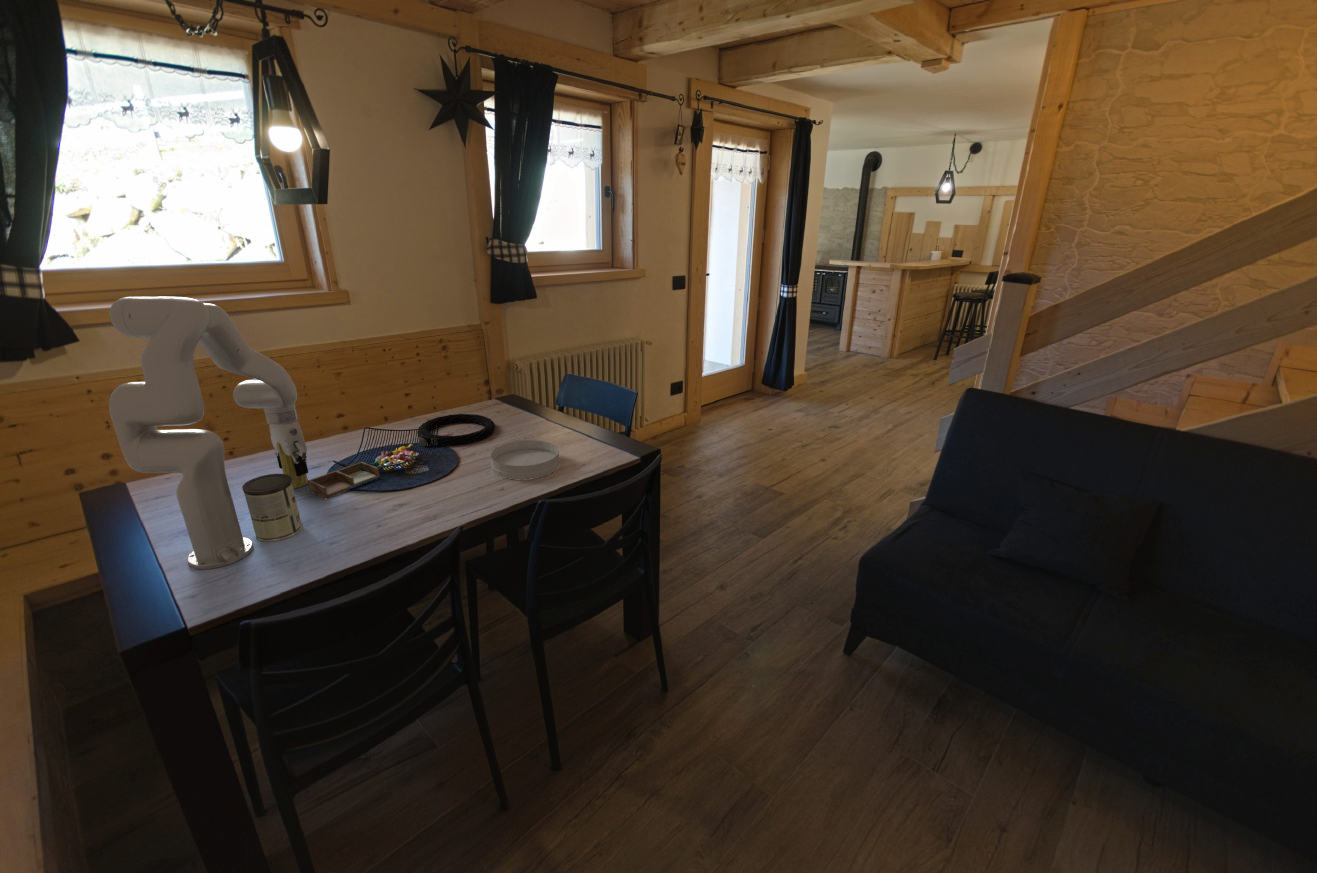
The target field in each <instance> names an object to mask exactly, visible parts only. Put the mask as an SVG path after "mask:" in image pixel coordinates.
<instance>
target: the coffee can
mask: <svg viewBox="0 0 1317 873" xmlns="http://www.w3.org/2000/svg"><path fill="white" fill-rule="evenodd" d="M242 491H243V494H244V497H245V501H246V505H247V508H248V513H249V515H250V519H251V523H252V527H253V530H254V533H255V538H256V539H257V540H258V541H259V542H263V543H271V542H273V543H275V542H279V541H283V540H286V539H289V538H291V537H293V536H295V535H297V534H298V533H300V532H301V530H302V529H303V524H302V520H301V516H300V511H299V507H298V503H297V499H296V495H295V490H294V488H293V485H292V478H291V476H289V475H287V474H283V473H271V474H265V475H264V474H263V475H261V476H257V477H254V478H252V479H250V480H248V481H246V482H245V483H244V484H243V485H242Z"/></svg>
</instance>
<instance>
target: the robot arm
mask: <svg viewBox="0 0 1317 873" xmlns="http://www.w3.org/2000/svg"><path fill="white" fill-rule="evenodd" d="M109 318H110V319H109V320H110V322H111V324H112V326H113V327H114V329H115V330H116V331H118V332H119V333H120V334H122V335H123V336H127V337H128V338H135V339H147V340H149V341H148V343H146V346H145V347H144V349H143V351H142V353H141V358H140V365H141V369H142V373H143V377H144V378H143V379H144V381H131V382H125V383H121V384H120V385H118V386H117V387H115V389H114V390H113V391H112V393H111V395H110V397H109V402H108V410H109V415H110V418H111V422H112V425H113V429H114V431H115V435H116V438H117V440H118V443H119V447H120V450H121V452H122V455H123V458H124V460H125V462H126V463H127V465H128V466H129V467H130V468H131V470H133V471H135V472H138V473H143V474H168V473H172V474H181V475H182V478H181V480H180V481H179V483H178V485H177V487H176V491H175V492H176V499H177V502H178V505H179V508H180V511H181V514H182V517H183V521H184V523H185V527H186V530H187V534H188V536H189V539H190V543H191V546H192V550H193V551H192V552H190V553H189V555H188V556H187V563H188V565H189V566H190V567H191V568H193V569H199V570H209V569H210V570H211V569H215V568H222V567H224V566H229V565H231V564H234V563H235V562H236V563H237V562H238V561H240V560H242V559H244V558H245V557H247V556H248V555H249V554H251V552H252V551H253V550H254V543H253V541H252V540H251V539H249V538H248V537H243V532H242V529H241V525H240V522H239V519H238V514H237V512H236V508H235V504H234V501H233V500H234V499H233V497H232V492H231V490H230V486H229V482H228V478H227V473H226V472H227V471H226V467H225V466H226V465H225V446H224V443H223V440H222V439H221V437H220V436H219V435H218V434H217V433H215V432H213V431H211V430H207V429H198V428H186V429H185V428H178V429H175V428H174V429H158V428H157V427H165V426H166V427H169V426H170V427H171V426H188V425H193V424H196V423H198V422H200V421H201V420H202V419H203V417H204V416H205V403H204V399H203V396H202V395H203V394H202V391H201V387H200V384H199V381H198V380H199V379H198V376H197V372H196V367H195V364H194V354H195V350H196V348H197V346H198V344H199V346H201V348H202V349H203V351H204V352H205V353H206V354H207V356H208V357H209V359H211V361H212V363H213V364H214V365H215V366H216V367H217V368H219V369H221V370H224V371H227V372H229V373H232V374H235V375H239V376H244V377H248V378H251V379H246V380H243V381H241V382H239V383H238V384H237V385H236V386H235V387H234V389H233V391H232V396H233V400H234V402H235V404H237V405H238V406H239V407H241V408H244V409H245V408H246V409H263V411H264V414H265V419H266V423H267V425H268V427H269V434H270V441H271V444H272V446H273V449H274V451H275V456H276V459H277V463H278V464H277V465H278V467H279V469H281V470H283V469H282V465H281V460H280V456H279V452H278V448H277V442H278V443H280V444H281V448H282V450H283V451H284V453H285V454H286V455H288V456H291V457H292V458H293V460H294V462H295V464H294V467H295V472H296V476H301V475H304V474H306V475H307V474H308V473H309V469H308V463H307V452H308V449H307V446H306V442H305V437H304V433H303V430H302V428H301V425H300V423H299V420H298V419H299V418H298V413H297V409H296V405H295V403H296V401H297V399H298V390H297V387H296V384H295V383H294V381H293V379H292V378H291V376H290V375H289V373H288V371H287V370H286V369H285V368H284V367H283V366H282V365H281V364H279V363H278V362H276V361H275V360H273V359H271V358H270V357H268V356H267V355H264V354H263V353H261V352H259V351H257V350H255V349H253V348H251V347H250V346H249V343H248V342H247V341H246V339H245V337H243V335H242V334H241V332H240V330H239V329H238V328H237V326H236V325H235V323H234V321H233V320H232V319H231V318H230V316H229V315H228V313H227V312H226V311H225V309H224V308H222V307H221V306H219V305H216V304H213V303H207V302H206V303H205V302H203V301H201V300H198V299H195V298H190V297H185V296H184V297H183V296H125V297H121V298H118V299H117V300H115V301H114V302H113V303H112V304H111V306H110V308H109ZM296 451H298V452H296ZM293 452H296V453H293ZM297 455H300V456H298V458H296V456H297Z"/></svg>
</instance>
